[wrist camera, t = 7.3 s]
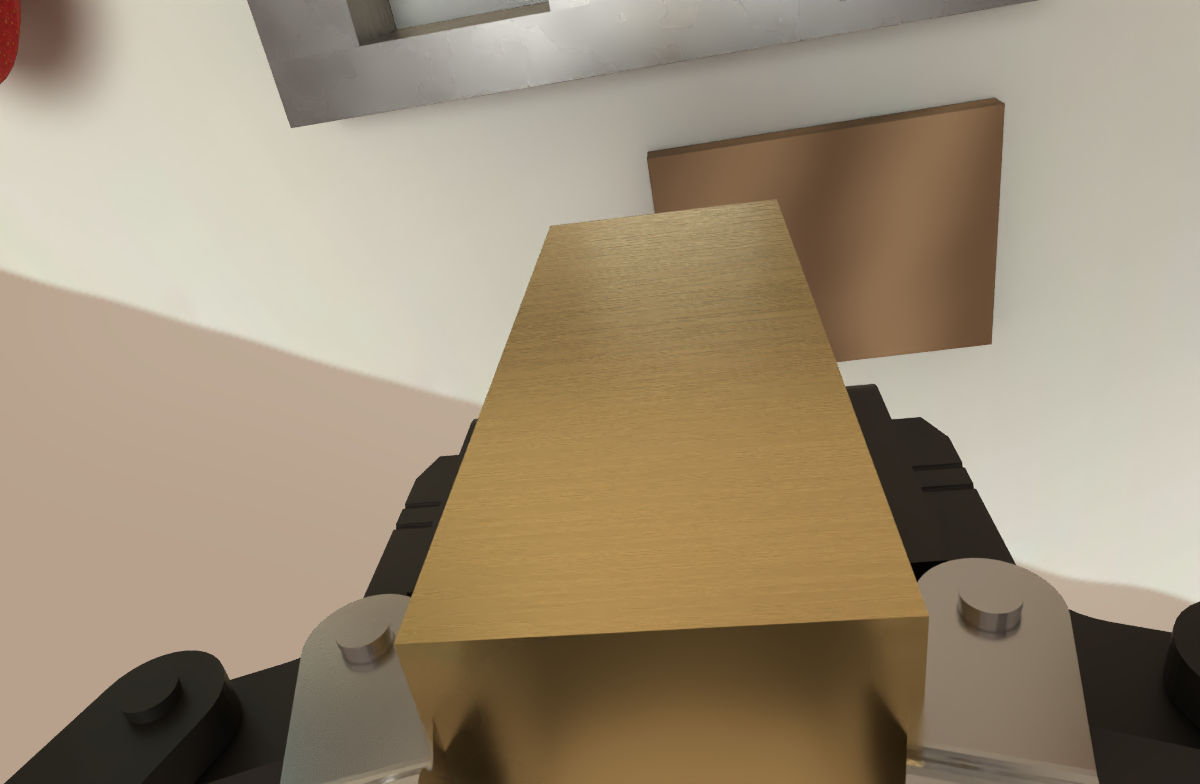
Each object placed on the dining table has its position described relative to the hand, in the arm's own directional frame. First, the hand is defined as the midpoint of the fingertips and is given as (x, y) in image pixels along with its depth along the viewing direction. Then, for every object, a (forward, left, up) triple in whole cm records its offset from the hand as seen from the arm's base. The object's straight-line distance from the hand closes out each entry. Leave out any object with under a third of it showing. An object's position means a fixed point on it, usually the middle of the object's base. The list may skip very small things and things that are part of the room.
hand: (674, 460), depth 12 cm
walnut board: (-5, +5, -21) cm, 23 cm away
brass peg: (0, 0, -5) cm, 5 cm away
